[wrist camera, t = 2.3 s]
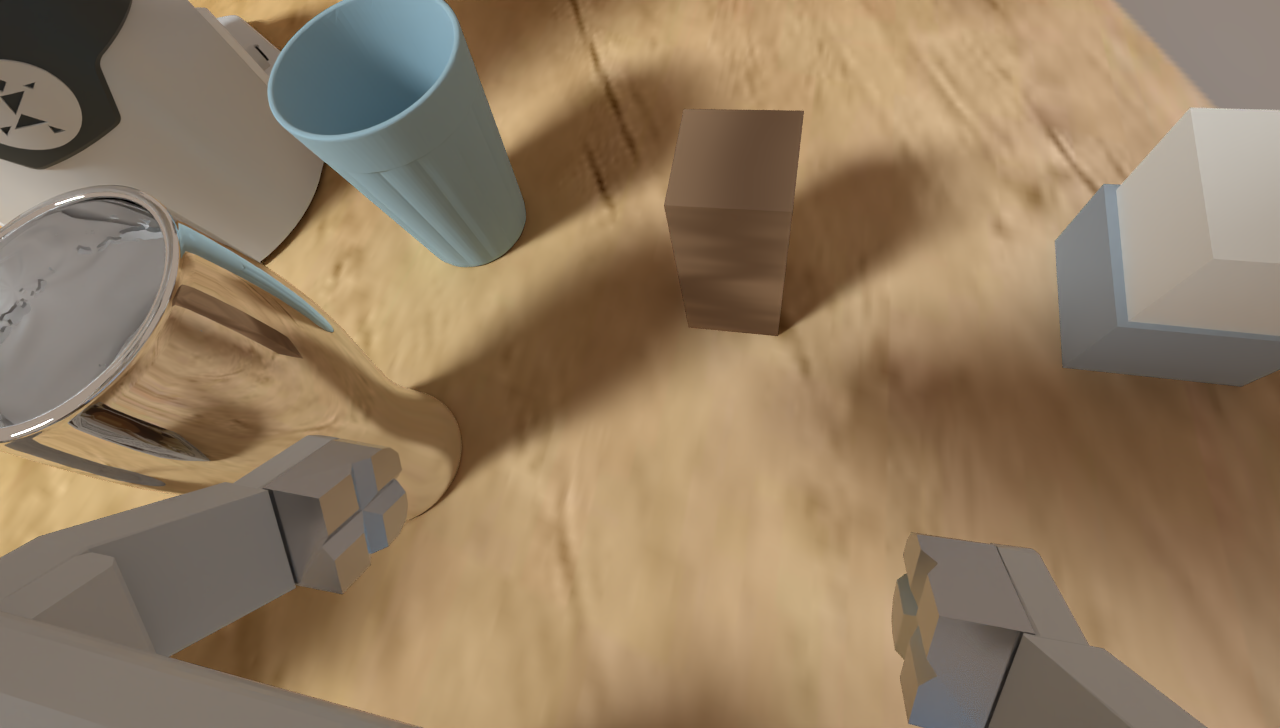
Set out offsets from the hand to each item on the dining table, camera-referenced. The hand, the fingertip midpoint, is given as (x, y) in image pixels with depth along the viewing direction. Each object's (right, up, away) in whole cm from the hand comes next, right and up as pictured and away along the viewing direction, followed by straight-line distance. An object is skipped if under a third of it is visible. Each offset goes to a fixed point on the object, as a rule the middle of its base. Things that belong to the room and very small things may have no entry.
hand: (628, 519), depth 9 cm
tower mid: (+20, +6, +11) cm, 24 cm away
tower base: (+21, +5, +15) cm, 26 cm away
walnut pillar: (+5, +6, +18) cm, 19 cm away
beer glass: (-11, -2, +18) cm, 21 cm away
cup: (-8, +10, +22) cm, 26 cm away
